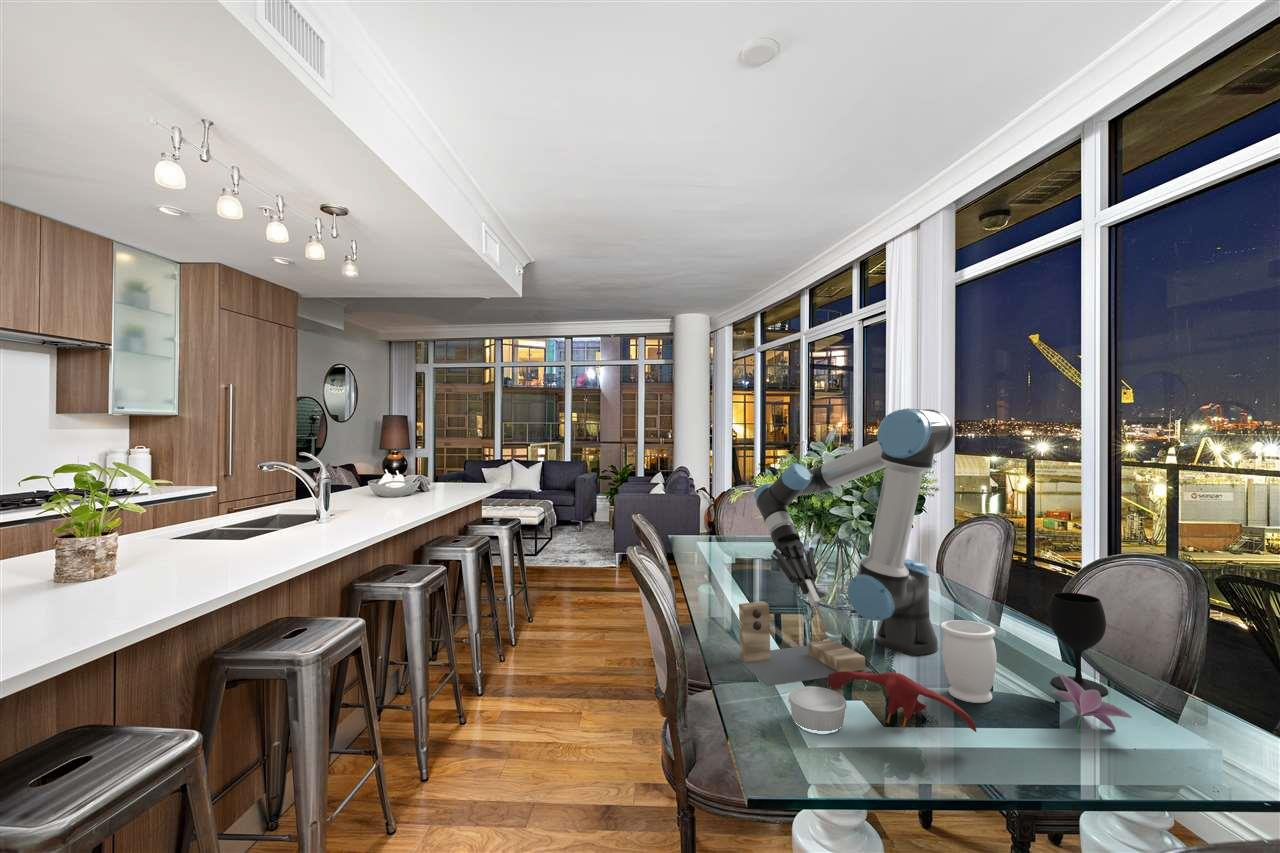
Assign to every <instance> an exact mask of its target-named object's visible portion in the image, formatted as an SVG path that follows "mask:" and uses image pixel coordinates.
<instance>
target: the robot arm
mask: <svg viewBox="0 0 1280 853" xmlns="http://www.w3.org/2000/svg"><path fill="white" fill-rule="evenodd" d="M876 433H877V435H876V436H877V437H876V438H877V440H876V441H873V442H872V443H868V444H867V445H865V446H862V447H860V448H857V449H855V450H853V451H851V452H848V453H845V454H844V455H842V456H840V457H837V458H834V459H832V460H830V461H828V462H825V463H823V464H821V465H819V466H818V465H817V466H816V467H814V468H809V469H808V468H807V467H805V466H804V465H802V464H799V463H796V462H795V463H791V464H790V465H789V466H788V467H787V468H786V469H784V470H783V472H782V473H781V474H780V475H779V476H778V478H776V479H775V481H774V482H773V483H765V484H762V485H761V486H759V487H757V488H756V490H755V491H754V494H753V498H754V500H755V502H756V507H757V508H758V510H759V512H760V514H761V516H762V518H763V521H764V524H765V526H766V528H767V531H768V532H769V535H770V537H771V540H772V542H773V544H774V546H775V549H773V551H772V553H771V555H770V558H772V559H773V560H774V561H775V563H777V565H778V566H779V567H780V569H781V570H782V571H783V573H784V575H785V576H786V577H787V578H788V580H789V581H790V583H791V584H794V583H795V584H796V587H797V586H798V587H799V588H800V590H801V593H802V594H803V595H805V596H806V598H807V600H808V602H809V604H810V606H811V607H817V606H818V604H819V603H820V602H821V599H820V597H819V594H818V593H817V592H818V587H817V585H816V584H815V582H814V581H815V580H816V579H817V578H818V576H819V574H818V570H817V567H816V561H815V557H814V552H815V548H814V547H813V546H810V547H808V546H805V544H804V542H802V541H801V537H800V534H799V532H798V530H797V528H796V526H795V524H794V521H793V519H792V518H791V515H790V513H789V511H788V509H787V507H788V506H789V505H790V504H791V503H792V502H793V501H794V500H795V499H796V498H797V497H798V496H805V495H806V496H807V495H812V494H813V495H814V494H823V493H827V492H830V491H831V490H832V489H833V488H836V487H837V486H840V485H842V484H845V483H847V482H851V481H853V480H855V479H858V478H861V477H864V476H866V475H869V474H871V473H873V472H874V473H875V472H877V471H879V470H882V469H884V474H883V479H882V485H881V489H880V495H879V499H878V500H879V501H878V504H877V510H876V515H875V520H874V524H873V528H872V530H873V531H872V536H871V540H870V545H869V549H868V554H867V555H866V556H864V557H862V558H861V560H860V564H859V567H858V568H859V569H858V573H857V574H856V575H855V576H854V577H852V579H851V580H850V581H849V583H848V585H847V589H846V590H847V592H846V593H847V599H848V601H849V603H850V604H851V606H852V607H853V610H854V611H855V612H856V613H857V614H858V615H860V616H861V617H863V618H864V619H866V620H870V621H874V622H875V621H880V622H879V625H878V629H877V633H876V642H877V643H878V645H880V646H882V647H884V648H885V649H888V650H891V651H894V652H895V651H896V652H900V653H902V654H905V655H912V656H913V655H914V656H919V655H920V656H921V655H929V654H933V653H935V652H937V651H938V649H939V647H938V646H939V644H938V643H939V642H938V641H939V640H938V637H937V635H936V633H935V630H934V627H933V624H932V621H931V618H930V586H929V585H930V584H929V583H930V581H929V578H930V575H929V568H928V565H926V563H924V562H921V561H917V560H910V559H906V556H907V552H908V545H909V542H910V538H911V537H910V536H911V533H912V527H913V522H914V517H915V513H916V509H917V504H918V498H919V494H920V488H921V483H922V479H923V474H925V473H926V472H927V471H929V470H931V469H932V464H933V461H934V455H936V454H939V453H941V452H943V451H945V450H946V449H947V448H948V447H949V446H950V445H951V443H952V440H953V438H954V427H953V424H952V422H951V420H950V419H949V417H947V416H946V415H945V414H944V413H942V412H940V411H938V410H935V409H921V408H919V409H918V408H916V409H915V408H903V409H897V410H895V411H892V412H890V413H889V414H887V415H886V416H885V417H884V418H883V419H882V420H881V422H880V423H879V426H878V428H877V432H876Z"/></svg>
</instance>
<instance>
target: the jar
mask: <svg viewBox="0 0 1280 853" xmlns="http://www.w3.org/2000/svg"><path fill="white" fill-rule="evenodd" d="M941 630H942V631H943V632H944V633H943V637H942V642H941V653H942V659H943V660H942V661H943V665H944V670H945V671H944V672H945V675H946V677H947V681H948V682H949V685H950V686H949V688H948V693H949V694H950V695H951V696H952V697H953V698H955V699H958V700H960V701H963V702H967V703H972V704H985V703H989V702H991V701H992V699H993V694H992V693H991V690H992V688H993V685H994V682H995V674H996V671H997V649H996V645H995V641H994V637H995V636H996V629H995V628H994V627H992V626H991V625H989V624H986V623H982V622H978V621H971V620H964V619H963V620H961V619H958V620H957V619H956V620H955V619H954V620H946V621H944V622H942V623H941Z"/></svg>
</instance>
